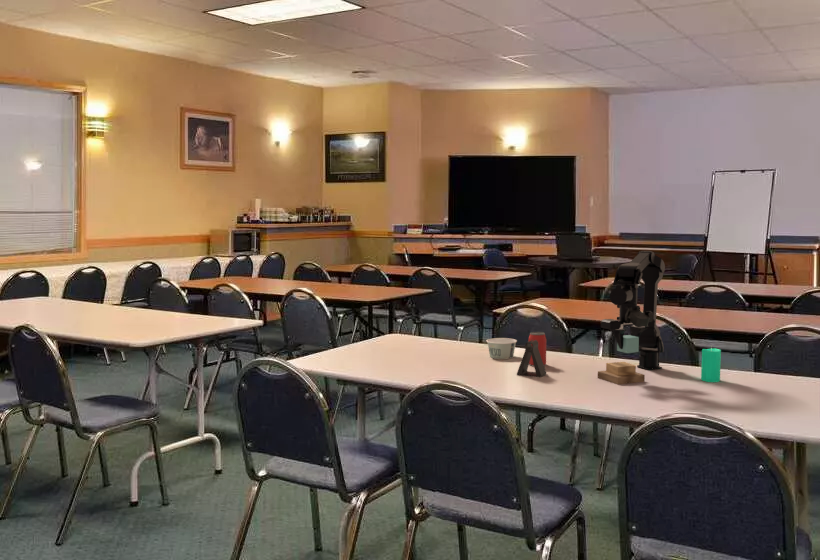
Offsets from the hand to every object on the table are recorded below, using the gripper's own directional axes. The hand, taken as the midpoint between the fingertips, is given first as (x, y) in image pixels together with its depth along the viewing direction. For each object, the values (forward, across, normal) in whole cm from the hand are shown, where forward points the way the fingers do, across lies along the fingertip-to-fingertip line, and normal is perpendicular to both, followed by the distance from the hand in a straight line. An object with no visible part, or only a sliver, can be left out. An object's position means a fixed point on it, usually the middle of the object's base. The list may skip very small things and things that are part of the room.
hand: (627, 348), depth 266 cm
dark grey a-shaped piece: (+11, -24, +22) cm, 34 cm away
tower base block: (+12, -1, +2) cm, 12 cm away
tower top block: (+9, -1, +2) cm, 9 cm away
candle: (+11, +26, -12) cm, 30 cm away
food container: (+11, -16, +56) cm, 59 cm away
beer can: (+11, -13, +36) cm, 40 cm away
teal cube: (+1, 0, 0) cm, 1 cm away
